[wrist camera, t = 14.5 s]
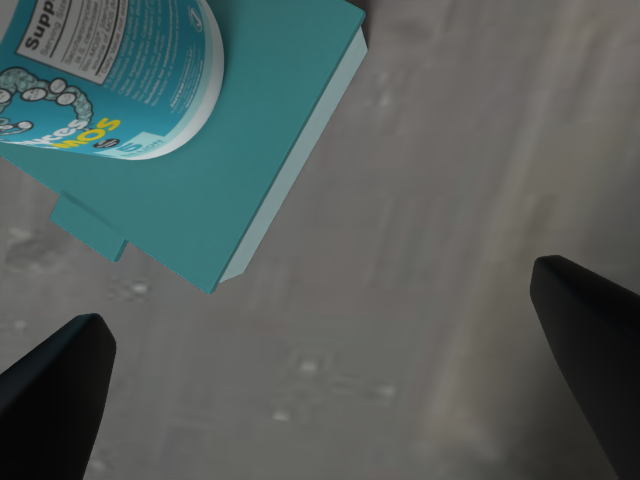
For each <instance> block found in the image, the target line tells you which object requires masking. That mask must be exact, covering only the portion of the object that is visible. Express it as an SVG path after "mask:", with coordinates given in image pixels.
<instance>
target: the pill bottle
mask: <svg viewBox="0 0 640 480" xmlns="http://www.w3.org/2000/svg"><path fill="white" fill-rule="evenodd" d="M223 74H224V50H223V43H222V38H221V34H220V30H219V27H218V24H217V22H216V19H215V17H214V15H213V12H212V10H211V9H210V7H209V5H208V3H207V2H206V0H0V142H6V143H13V144H20V145H27V146H34V147H41V148H48V149H55V150H62V151H69V152H75V153H83V154H89V155H97V156H103V157H111V158H119V159H127V160H142V159H150V158H155V157H158V156H161V155H164V154H167V153H169V152H171V151H173V150H175V149H177V148H179V147H180V146H182V145H183V144H185V143H186V142H187V141H189V140H190V139H191V138H192V137H193V136H194V135H195V134H196V133H197V132H198V131H199V130H200V129H201V128H202V126H203V125H204V124H205V122H206V121H207V119H208V118H209V116H210V115H211V113H212V111H213V109H214V107H215V104H216V102H217V100H218V97H219V94H220V90H221V86H222V81H223Z"/></svg>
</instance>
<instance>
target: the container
mask: <svg viewBox="0 0 640 480" xmlns="http://www.w3.org/2000/svg"><path fill="white" fill-rule="evenodd" d="M206 2H207V3H208V5H209V7H210V9H211V10H212V12H213V15H214V17H215V19H216V22H217V24H218V27H219V30H220V34H221V38H222V43H223V50H224V74H223V81H222V86H221V90H220V94H219V97H218V100H217V102H216V104H215V107H214V109H213V111H212V113H211V115H210V116H209V118H208V119H207V121H206V122H205V124H204V125H203V126H202V128H201V129H200V130H199V131H198V132H197V133H196V134H195V135H194V136H193V137H192V138H191V139H190V140H189V141H187V142H186V143H185V144H183V145H182V146H180V147H179V148H177V149H175V150H173V151H171V152H169V153H167V154H164V155H161V156H158V157H155V158H150V159H142V160H127V159H119V158H111V157H103V156H97V155H89V154H83V153H75V152H69V151H62V150H55V149H48V148H41V147H34V146H27V145H20V144H13V143H6V142H0V156H2V157H3V158H5V159H6V160H8V161H9V162H11V163H12V164H14V165H15V166H17V167H18V168H20V169H21V170H23V171H24V172H26V173H27V174H29V175H30V176H32V177H33V178H35V179H36V180H38V181H39V182H41V183H42V184H44V185H45V186H47V187H48V188H50V189H51V190H53V191H54V192H56V193H57V194H59V195H60V196H59V199H58V201H57V203H56V205H55V207H54V210H53V212H52V214H51V216H50V218H49V219H50V220H51V221H53V222H54V223H56V224H57V225H58V226H60V227H61V228H63V229H64V230H66V231H67V232H69V233H70V234H72V235H73V236H75V237H76V238H78V239H79V240H81V241H82V242H83V243H85V244H86V245H88V246H89V247H91V248H92V249H94V250H95V251H97V252H98V253H100V254H101V255H103V256H104V257H105V258H107V259H108V260H110V261H111V262H117V261H119V259H120V257H121V255H122V253H123V251H124V249H125V247H126V245H127V243H128V241H129V242H131V243H132V244H134V245H135V246H137V247H138V248H139V249H141V250H142V251H144V252H145V253H147V254H148V255H150V256H151V257H153V258H154V259H156V260H157V261H159V262H160V263H162V264H163V265H165V266H166V267H168V268H169V269H171V270H172V271H174V272H175V273H177V274H178V275H180V276H181V277H183V278H184V279H186V280H187V281H189V282H190V283H192V284H193V285H195V286H196V287H198V288H199V289H201V290H202V291H204V292H205V293H207V294H211V293H213V292H214V291H215V289H216V287H217V285H218V283H220V282H222V281H225V280H227V279H229V278H232V277H234V276H237V275H239V274H241V273H243V272H244V271H245V269H246V267H247V265H248V263H249V262H250V260H251V258H252V256H253V255H254V253H255V251H256V249H257V247H258V246H259V244H260V242H261V240H262V239H263V237H264V235H265V233H266V231H267V230H268V228H269V226H270V224H271V222H272V221H273V219H274V217H275V215H276V214H277V212H278V210H279V208H280V206H281V205H282V203H283V201H284V199H285V198H286V196H287V194H288V192H289V190H290V189H291V187H292V185H293V183H294V182H295V180H296V178H297V176H298V174H299V173H300V171H301V169H302V167H303V165H304V164H305V162H306V160H307V158H308V157H309V155H310V153H311V151H312V149H313V148H314V146H315V144H316V142H317V141H318V139H319V137H320V135H321V133H322V132H323V130H324V128H325V126H326V124H327V123H328V121H329V119H330V117H331V116H332V114H333V112H334V110H335V108H336V107H337V105H338V103H339V101H340V100H341V98H342V96H343V94H344V92H345V91H346V89H347V87H348V85H349V83H350V82H351V80H352V78H353V76H354V75H355V73H356V71H357V69H358V67H359V66H360V64H361V62H362V60H363V59H364V57H365V55H366V53H367V51H368V49H367V46H366V42H365V39H364V36H363V32H362V29H361V24H362V23H363V21H364V19H365V17H366V14H365V11H364V10H363V9H361V8H359V7H357V6H355V5H353V4H351V3H349V2H347V1H346V0H206Z"/></svg>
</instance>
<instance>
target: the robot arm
mask: <svg viewBox="0 0 640 480" xmlns="http://www.w3.org/2000/svg"><path fill="white" fill-rule="evenodd" d="M530 296H531V300H532V302H533V305H534V308H535V310H536V313H537V315H538V318H539V320H540V323H541V325H542V328H543V330H544V333H545V335H546V338H547V340H548V343H549V345H550V348H551V350H552V353H553V355H554V358H555V360H556V362H557V365H558V367H559V369H560V371H561V373H562V375H563V377H564V379H565V381H566V382H567V384H568V386H569V388H570V390H571V392H572V393H573V395H574V397H575V399H576V401H577V403H578V405H579V406H580V408H581V410H582V412H583V414H584V416H585V418H586V419H587V421H588V423H589V425H590V427H591V429H592V431H593V432H594V434H595V436H596V438H597V440H598V442H599V444H600V445H601V447H602V449H603V451H604V453H605V455H606V457H607V458H608V460H609V462H610V464H611V466H612V468H613V469H614V471H615V473H616V475H617V477H618V479H619V480H640V295H638V294H636V293H634V292H632V291H630V290H628V289H626V288H624V287H622V286H620V285H618V284H616V283H614V282H612V281H610V280H608V279H606V278H604V277H602V276H600V275H598V274H596V273H594V272H592V271H590V270H588V269H586V268H584V267H582V266H580V265H578V264H576V263H574V262H572V261H570V260H568V259H566V258H564V257H562V256H560V255H550V256H542V257H539V258H537V259H536V260H535V263H534V267H533V273H532V279H531V285H530ZM115 354H116V341H115V338H114V337H113V335H112V333H111V332H110V330H109V328H108V326H107V325H106V323H105V321H104V320H103V318H102V317H101V316H100V315H99V314H97V313H91V314H83V315H78V316H76V317H75V318H73V319H72V320H71V321H69V322H68V323H67V324H65V325H64V326H63V327H62V328H60V329H59V330H58V331H56V332H55V333H54V334H52V335H51V336H50V337H49V338H47V339H46V340H45V341H43V342H42V343H41V344H39V345H38V346H37V347H36V348H34V349H33V350H32V351H30V352H29V353H28V354H26V355H25V356H24V357H22V358H21V359H20V360H19V361H17V362H16V363H15V364H13V365H12V366H11V367H9V368H8V369H7V370H6V371H4V372H3V373H2V374H0V480H83V477H84V474H85V470H86V467H87V464H88V461H89V458H90V455H91V452H92V449H93V445H94V442H95V439H96V436H97V433H98V430H99V426H100V423H101V419H102V416H103V412H104V407H105V403H106V398H107V393H108V388H109V383H110V378H111V374H112V369H113V364H114V359H115Z"/></svg>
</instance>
